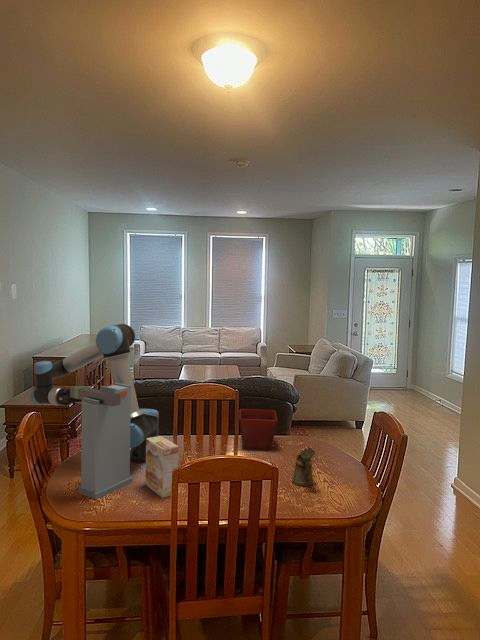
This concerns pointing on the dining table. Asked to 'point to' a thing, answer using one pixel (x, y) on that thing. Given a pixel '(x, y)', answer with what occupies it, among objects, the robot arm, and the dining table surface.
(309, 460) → the dark green figurine
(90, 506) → the dining table surface
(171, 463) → the coffeecake box
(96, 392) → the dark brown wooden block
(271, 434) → the plant pot
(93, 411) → the stand
